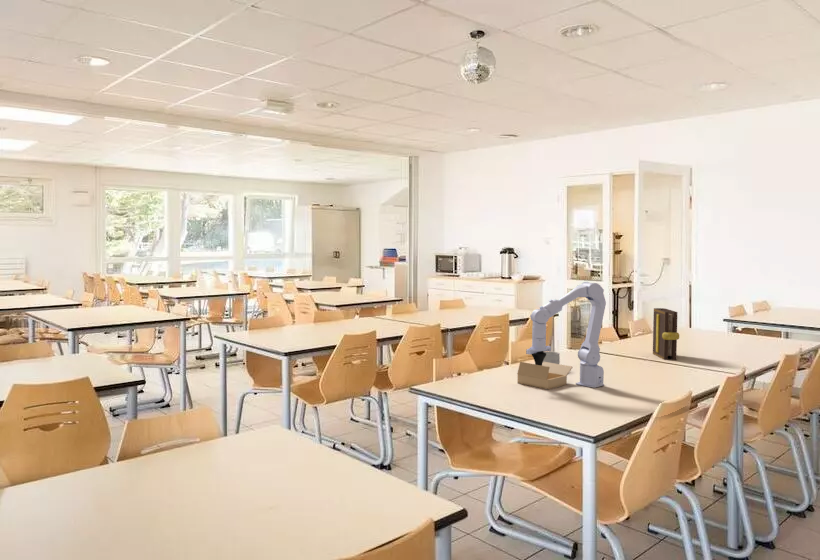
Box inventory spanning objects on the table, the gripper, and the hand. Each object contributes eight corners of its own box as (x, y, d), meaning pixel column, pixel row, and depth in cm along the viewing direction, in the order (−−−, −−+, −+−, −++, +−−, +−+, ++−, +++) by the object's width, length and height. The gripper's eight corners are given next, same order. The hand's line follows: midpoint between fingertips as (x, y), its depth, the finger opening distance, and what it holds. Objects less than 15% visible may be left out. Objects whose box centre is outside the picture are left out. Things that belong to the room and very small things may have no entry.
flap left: (517, 374, 273) (517, 374, 273) (520, 361, 274) (520, 361, 274) (546, 380, 262) (546, 379, 262) (549, 367, 263) (549, 366, 263)
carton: (566, 384, 271) (566, 375, 271) (547, 389, 262) (547, 380, 262) (536, 378, 283) (536, 369, 283) (517, 383, 274) (517, 374, 274)
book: (649, 353, 348) (650, 308, 347) (665, 353, 348) (666, 308, 346) (664, 360, 326) (665, 312, 325) (680, 360, 326) (681, 312, 324)
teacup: (553, 372, 297) (553, 355, 297) (532, 369, 304) (532, 353, 303) (565, 367, 308) (566, 351, 308) (545, 365, 315) (545, 349, 314)
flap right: (566, 375, 271) (566, 376, 271) (572, 366, 274) (572, 367, 274) (537, 370, 283) (537, 370, 283) (543, 361, 285) (544, 362, 285)
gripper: (541, 334, 274) (541, 365, 275) (520, 338, 265) (520, 370, 266) (555, 336, 269) (554, 368, 270) (534, 340, 259) (533, 372, 260)
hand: (538, 369), depth 267 cm, fingers closed, pressing on flap left
